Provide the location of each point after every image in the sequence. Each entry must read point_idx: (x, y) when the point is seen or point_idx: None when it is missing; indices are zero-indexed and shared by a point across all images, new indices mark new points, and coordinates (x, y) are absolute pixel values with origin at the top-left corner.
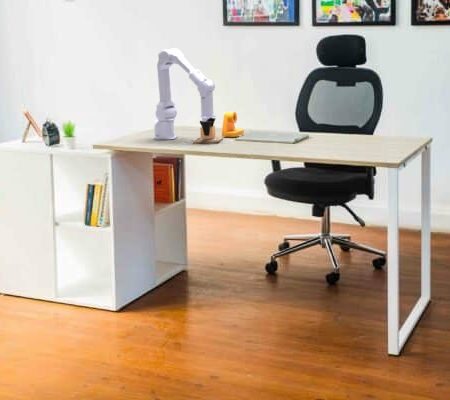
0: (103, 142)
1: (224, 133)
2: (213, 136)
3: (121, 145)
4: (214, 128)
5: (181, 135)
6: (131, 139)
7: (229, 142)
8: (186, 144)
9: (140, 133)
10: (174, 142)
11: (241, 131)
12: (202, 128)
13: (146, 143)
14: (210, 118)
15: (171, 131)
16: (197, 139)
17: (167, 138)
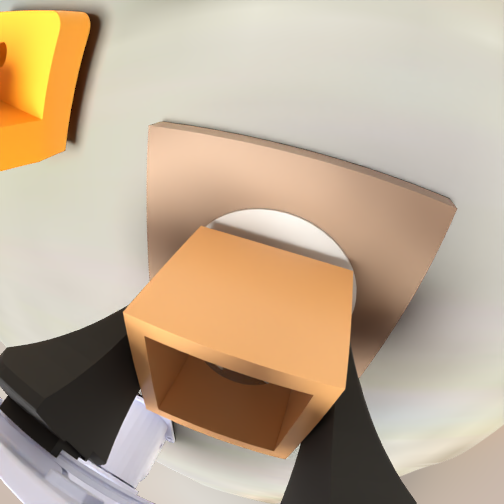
0: (216, 489)
1: (48, 132)
2: (303, 267)
3: (277, 494)
4: (176, 304)
5: None
6: (169, 458)
7: (403, 50)
8: None
9: None
10: None
11: (4, 12)
12: (292, 447)
13: (255, 470)
14: (60, 444)
15: (139, 435)
16: None
17: (168, 424)
